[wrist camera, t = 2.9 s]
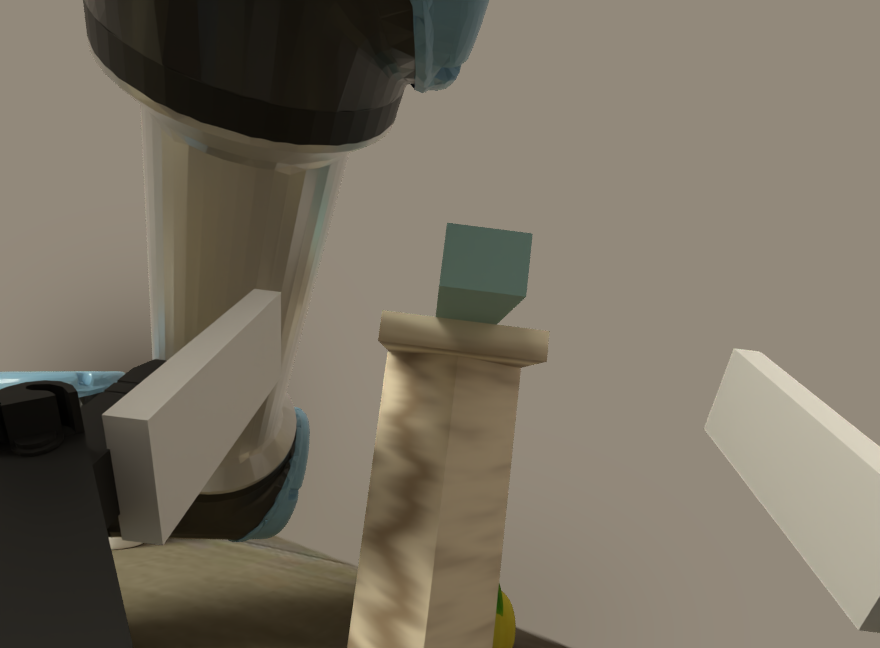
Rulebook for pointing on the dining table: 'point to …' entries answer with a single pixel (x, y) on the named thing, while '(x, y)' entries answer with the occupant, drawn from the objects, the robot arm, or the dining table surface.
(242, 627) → the dining table surface
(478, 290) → the bar
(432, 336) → the stand
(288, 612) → the dining table surface
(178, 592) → the dining table surface
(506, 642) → the lemon
